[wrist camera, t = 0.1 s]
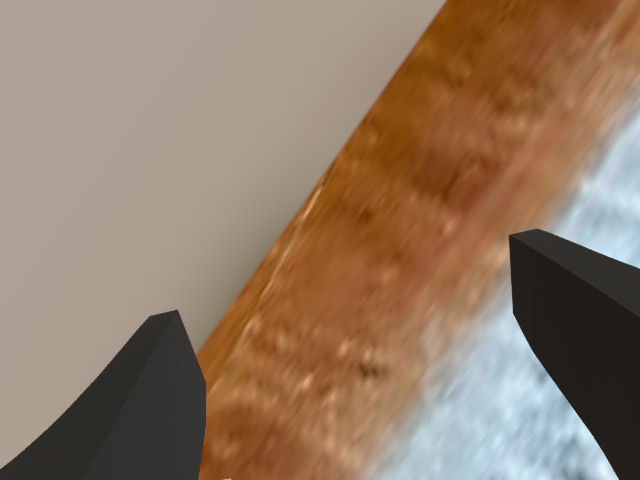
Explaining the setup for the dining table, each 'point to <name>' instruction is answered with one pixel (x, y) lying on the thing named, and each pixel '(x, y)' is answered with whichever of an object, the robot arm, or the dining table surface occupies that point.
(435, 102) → the dining table surface
